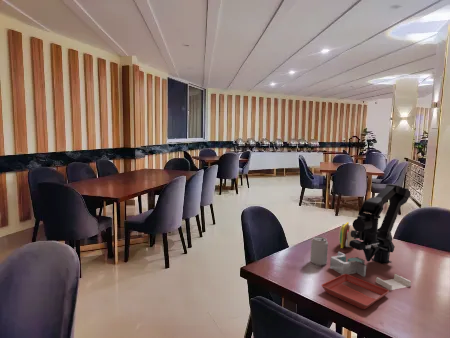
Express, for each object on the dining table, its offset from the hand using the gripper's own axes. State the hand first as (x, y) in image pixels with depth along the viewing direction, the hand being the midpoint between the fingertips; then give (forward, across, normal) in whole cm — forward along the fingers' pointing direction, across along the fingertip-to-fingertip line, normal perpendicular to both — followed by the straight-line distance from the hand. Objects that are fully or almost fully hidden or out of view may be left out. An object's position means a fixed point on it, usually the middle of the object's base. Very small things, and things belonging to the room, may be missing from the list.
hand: (368, 261), depth 142 cm
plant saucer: (+3, +25, +18) cm, 31 cm away
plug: (+3, +7, 0) cm, 8 cm away
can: (+3, +19, -11) cm, 22 cm away
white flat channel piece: (+3, +4, +17) cm, 18 cm away
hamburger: (+3, -11, -25) cm, 27 cm away
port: (+3, +14, 0) cm, 14 cm away
